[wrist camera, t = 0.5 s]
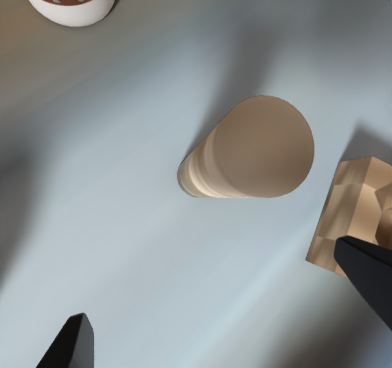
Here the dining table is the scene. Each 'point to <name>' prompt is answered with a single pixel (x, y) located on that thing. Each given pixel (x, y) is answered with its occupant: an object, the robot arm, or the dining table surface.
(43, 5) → the milk bottle
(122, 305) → the dining table surface
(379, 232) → the socket block
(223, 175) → the dowel pin
